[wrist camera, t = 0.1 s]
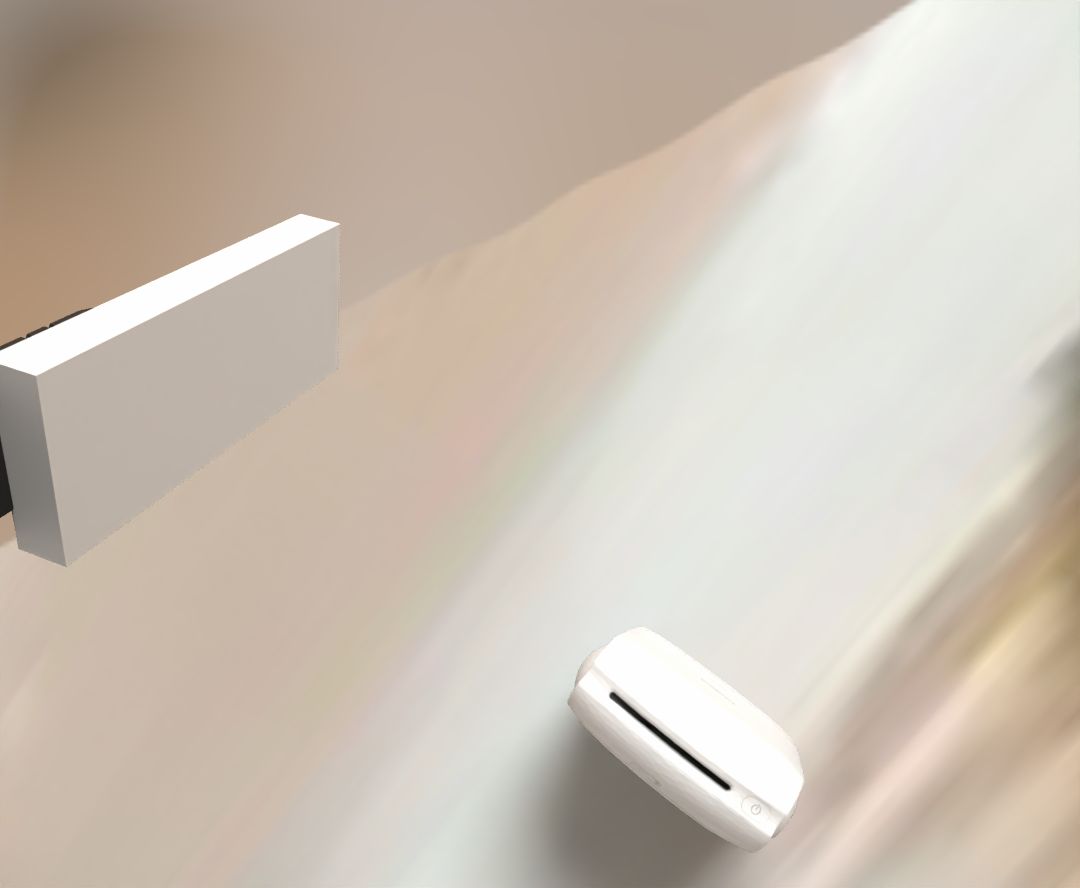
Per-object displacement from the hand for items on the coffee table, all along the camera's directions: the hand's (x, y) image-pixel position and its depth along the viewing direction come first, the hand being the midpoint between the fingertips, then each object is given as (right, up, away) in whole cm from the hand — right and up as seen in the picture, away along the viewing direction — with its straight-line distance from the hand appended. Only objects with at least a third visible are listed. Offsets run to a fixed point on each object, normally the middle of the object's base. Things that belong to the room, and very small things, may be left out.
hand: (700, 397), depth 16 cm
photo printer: (+5, -14, +34) cm, 37 cm away
